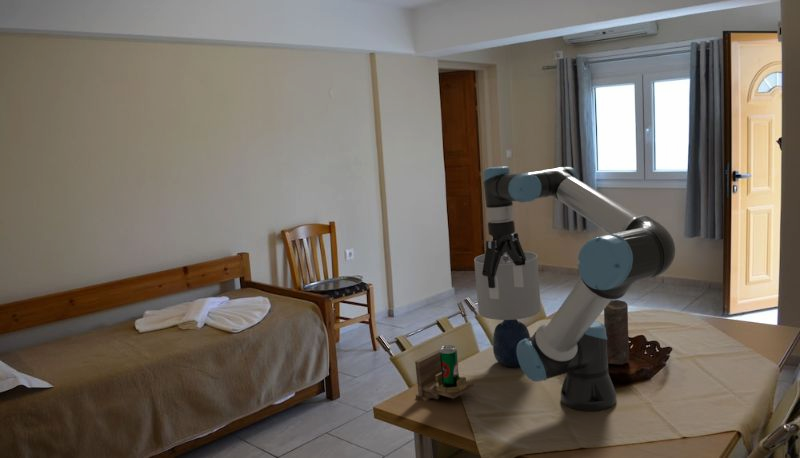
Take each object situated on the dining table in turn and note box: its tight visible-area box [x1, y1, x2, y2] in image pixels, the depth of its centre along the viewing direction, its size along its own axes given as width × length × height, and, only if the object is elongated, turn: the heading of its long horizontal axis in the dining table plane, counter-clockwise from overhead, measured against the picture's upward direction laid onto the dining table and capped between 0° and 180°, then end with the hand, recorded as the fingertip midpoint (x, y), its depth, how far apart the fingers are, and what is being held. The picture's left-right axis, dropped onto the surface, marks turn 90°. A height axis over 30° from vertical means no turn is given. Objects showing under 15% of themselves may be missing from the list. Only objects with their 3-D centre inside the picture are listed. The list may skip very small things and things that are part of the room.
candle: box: [603, 299, 630, 366], centre depth 206 cm, size 8×7×20 cm
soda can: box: [439, 344, 460, 388], centre depth 192 cm, size 5×5×12 cm
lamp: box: [473, 250, 542, 368], centre depth 214 cm, size 20×20×37 cm
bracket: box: [414, 349, 475, 402], centre depth 194 cm, size 14×11×12 cm
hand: (507, 292), depth 189 cm, fingers open, 13 cm apart
